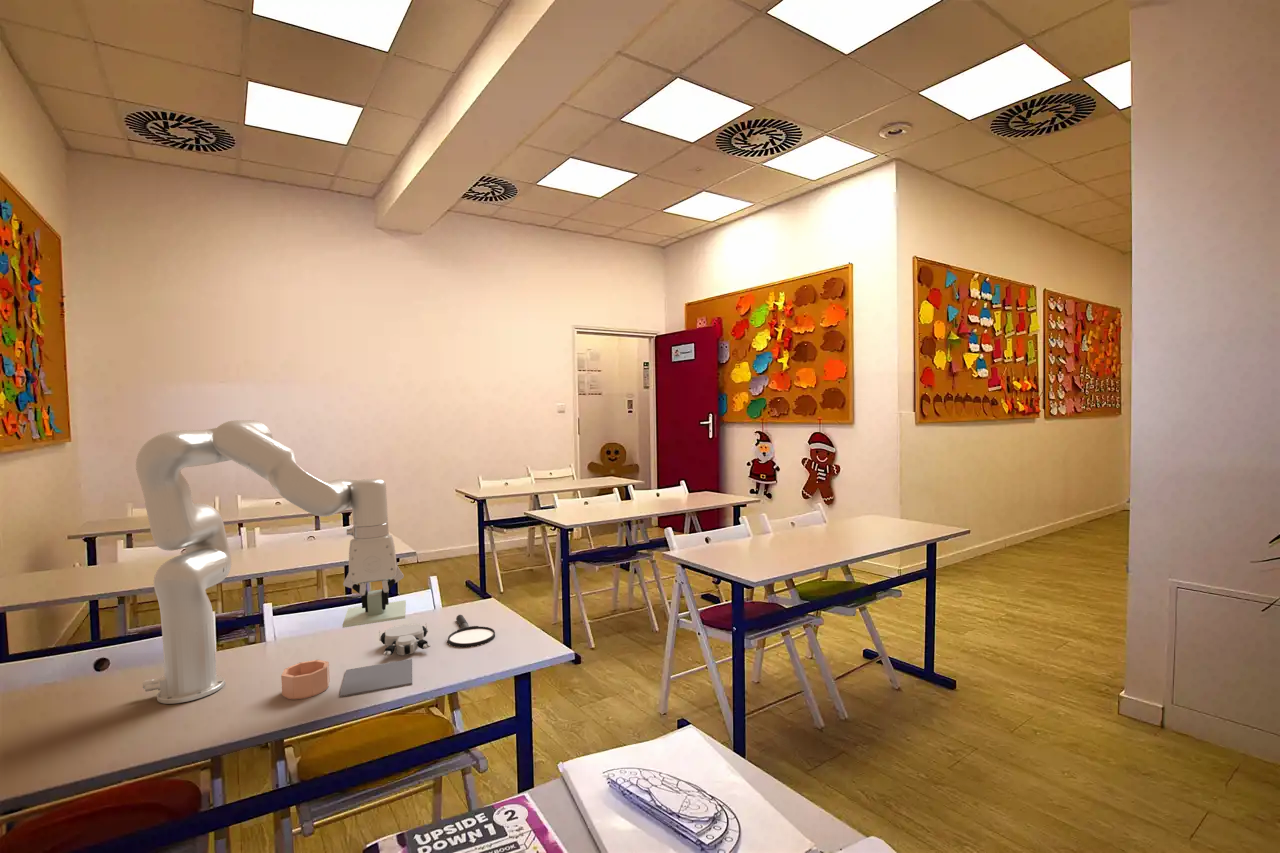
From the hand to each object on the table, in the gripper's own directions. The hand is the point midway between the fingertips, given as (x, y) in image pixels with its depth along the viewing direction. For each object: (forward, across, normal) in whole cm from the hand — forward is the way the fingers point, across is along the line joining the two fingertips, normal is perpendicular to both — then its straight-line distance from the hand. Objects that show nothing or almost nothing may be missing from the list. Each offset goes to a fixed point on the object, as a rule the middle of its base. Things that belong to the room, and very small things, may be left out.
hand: (375, 608), depth 144 cm
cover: (+1, 0, 0) cm, 1 cm away
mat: (+16, 0, 0) cm, 16 cm away
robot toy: (+17, +6, +17) cm, 25 cm away
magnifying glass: (+17, +22, +22) cm, 36 cm away
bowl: (+16, -15, 0) cm, 22 cm away
